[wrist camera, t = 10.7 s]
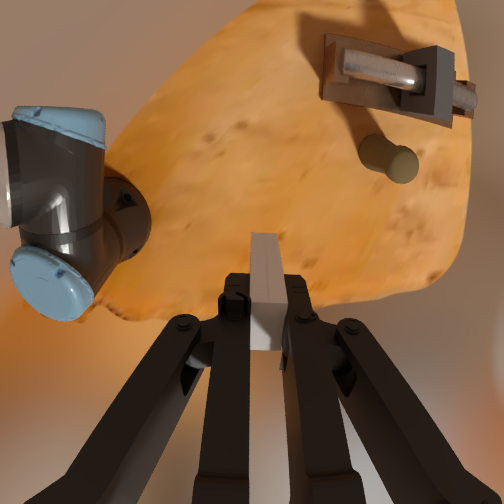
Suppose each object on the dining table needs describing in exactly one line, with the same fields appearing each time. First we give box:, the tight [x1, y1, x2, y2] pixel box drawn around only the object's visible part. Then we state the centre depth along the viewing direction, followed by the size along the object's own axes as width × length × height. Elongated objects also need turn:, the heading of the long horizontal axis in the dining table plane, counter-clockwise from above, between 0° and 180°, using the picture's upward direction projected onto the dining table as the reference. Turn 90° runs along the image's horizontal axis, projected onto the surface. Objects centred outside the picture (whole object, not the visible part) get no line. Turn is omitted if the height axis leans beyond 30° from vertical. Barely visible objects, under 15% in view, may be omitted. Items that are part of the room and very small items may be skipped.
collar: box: [400, 45, 454, 121], centre depth 31 cm, size 3×10×10 cm, turn 177°
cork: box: [359, 134, 419, 184], centre depth 38 cm, size 6×6×11 cm
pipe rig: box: [322, 33, 478, 129], centre depth 33 cm, size 24×11×9 cm, turn 87°
